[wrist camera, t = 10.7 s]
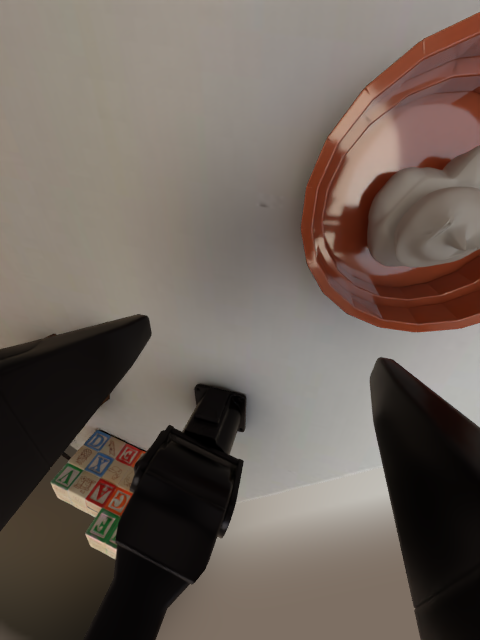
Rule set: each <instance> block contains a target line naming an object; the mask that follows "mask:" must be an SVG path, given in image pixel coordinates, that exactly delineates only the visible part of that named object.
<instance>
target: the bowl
mask: <svg viewBox="0 0 480 640" xmlns="http://www.w3.org/2000/svg"><path fill="white" fill-rule="evenodd" d="M479 145H480V12H479V13H477V14H474V15H472V16H470V17H468V18H466V19H464V20H462V21H460V22H458V23H456V24H454V25H452V26H449V27H447V28H445V29H443V30H441V31H439V32H437V33H435V34H433V35H431V36H429V37H427V38H424V39H423V40H422V41H420V42H418V43H417V44H416V45H415V46H414V47H412V48H411V49H410V50H409V51H408V52H406V53H405V54H404V55H403V56H402V57H400V58H399V59H398V60H397V61H396V62H394V63H393V64H392V65H391V66H390V67H389V68H387V69H386V70H385V71H384V72H383V73H381V74H380V75H379V76H378V77H377V78H375V79H374V80H373V81H372V82H371V83H369V84H368V85H367V86H366V87H365V88H364V89H363V90H362V92H361V93H360V94H359V96H358V97H357V98H356V100H355V101H354V102H353V104H352V105H351V106H350V108H349V109H348V110H347V112H346V113H345V114H344V116H343V117H342V118H341V120H340V121H339V122H338V124H337V125H336V126H335V128H334V129H333V130H332V132H331V133H330V134H329V136H328V137H327V139H326V141H325V143H324V146H323V148H322V150H321V153H320V155H319V157H318V160H317V162H316V164H315V167H314V169H313V172H312V174H311V176H310V179H309V181H308V183H307V187H306V191H305V199H304V207H303V214H302V222H301V234H302V240H303V245H304V251H305V256H306V262H307V265H308V267H309V269H310V271H311V273H312V274H313V276H314V278H315V280H316V281H317V283H318V285H319V287H320V288H321V290H322V292H323V293H324V294H325V295H326V296H327V297H328V298H329V299H331V300H332V301H333V302H334V303H335V304H336V305H337V306H339V307H340V308H341V309H342V310H343V311H344V312H345V313H347V314H349V315H351V316H354V317H356V318H358V319H361V320H363V321H365V322H368V323H370V324H372V325H374V326H377V327H380V328H388V329H395V330H402V331H409V332H428V331H439V330H450V329H459V328H464V327H467V326H471V325H474V324H477V323H480V249H479V250H476V251H474V252H472V253H471V254H469V255H468V256H466V257H464V258H462V259H460V260H457V261H454V262H450V263H444V264H439V265H433V266H427V267H406V266H395V267H391V266H384V265H382V264H380V263H379V262H377V261H376V260H375V259H374V258H373V257H372V256H371V254H370V252H369V249H368V246H367V230H368V223H369V220H368V215H369V210H370V207H371V204H372V201H373V199H374V197H375V196H376V194H377V193H378V192H379V191H380V189H381V188H382V187H383V186H384V185H385V184H386V182H387V181H388V180H389V179H390V178H391V177H392V176H393V175H394V174H395V173H396V172H398V171H400V170H402V169H405V168H409V167H418V168H424V167H431V168H435V169H439V170H443V169H444V167H445V166H446V165H447V164H448V163H449V162H450V161H451V160H452V159H454V158H455V157H457V156H458V155H461V154H464V153H467V152H469V151H470V150H472V149H473V148H475V147H477V146H479Z"/></svg>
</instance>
